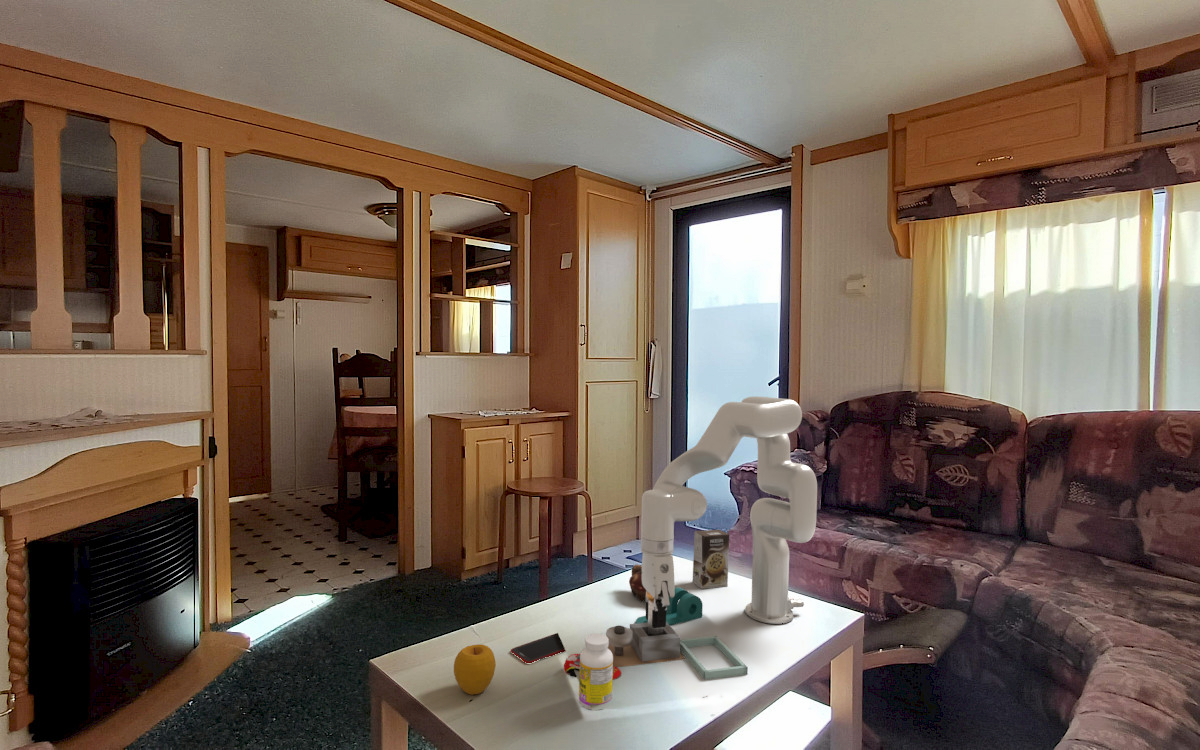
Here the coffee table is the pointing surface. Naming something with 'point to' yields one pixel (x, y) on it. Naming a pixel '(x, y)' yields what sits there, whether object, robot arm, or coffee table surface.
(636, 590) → the green brown ocarina
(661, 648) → the square socket fixture board
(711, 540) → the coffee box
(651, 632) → the pin
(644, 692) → the coffee table surface
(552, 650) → the cell phone
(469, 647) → the apple
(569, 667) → the race car
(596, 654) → the supplement bottle
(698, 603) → the bracket
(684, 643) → the tray
